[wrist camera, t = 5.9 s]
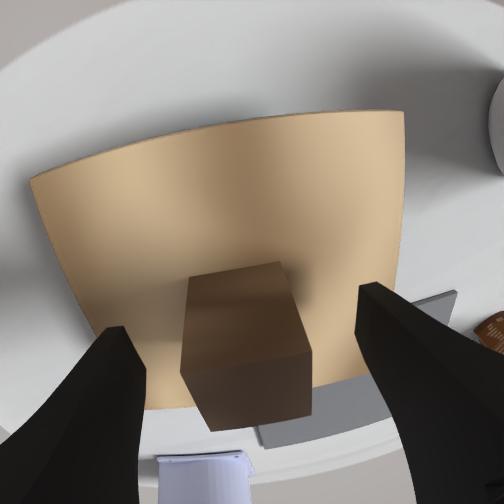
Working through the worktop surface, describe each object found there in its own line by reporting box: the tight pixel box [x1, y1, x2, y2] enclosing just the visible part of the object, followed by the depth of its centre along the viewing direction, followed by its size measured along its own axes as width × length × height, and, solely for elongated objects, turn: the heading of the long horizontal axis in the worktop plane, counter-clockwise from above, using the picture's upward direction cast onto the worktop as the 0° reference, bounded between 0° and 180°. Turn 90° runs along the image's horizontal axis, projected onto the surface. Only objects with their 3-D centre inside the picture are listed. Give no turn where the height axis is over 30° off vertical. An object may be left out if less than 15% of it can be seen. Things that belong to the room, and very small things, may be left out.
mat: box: [258, 290, 457, 449], centre depth 22 cm, size 16×16×1 cm
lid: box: [29, 109, 405, 432], centre depth 9 cm, size 12×12×5 cm
